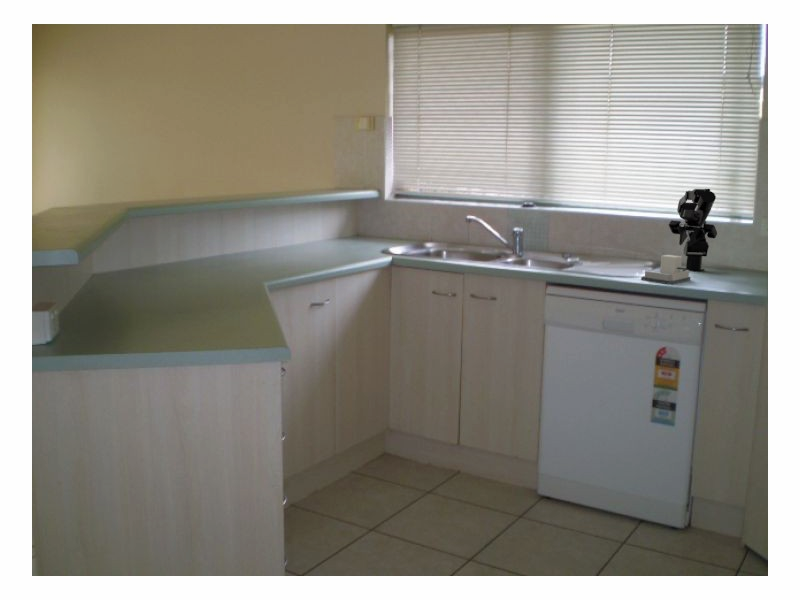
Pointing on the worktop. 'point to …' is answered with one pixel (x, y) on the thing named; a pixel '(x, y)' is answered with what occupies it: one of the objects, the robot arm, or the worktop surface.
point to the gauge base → (667, 277)
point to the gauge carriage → (670, 264)
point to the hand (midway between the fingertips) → (684, 245)
